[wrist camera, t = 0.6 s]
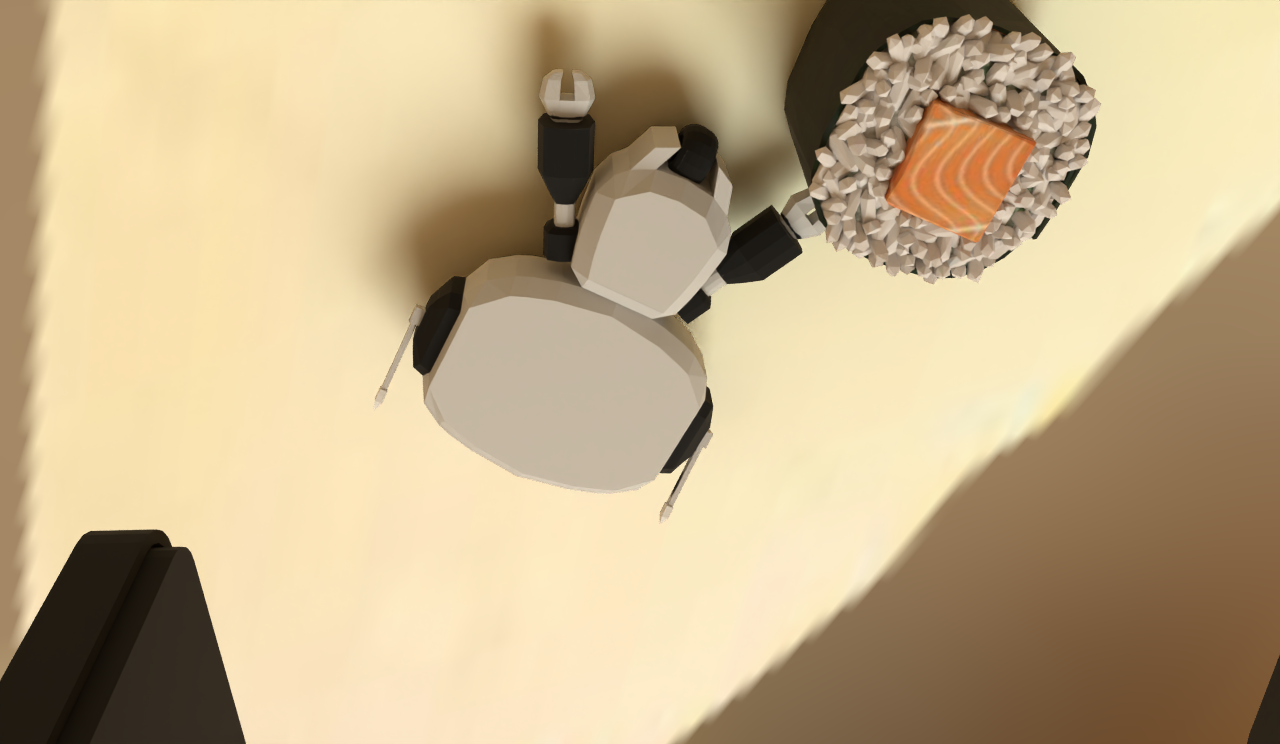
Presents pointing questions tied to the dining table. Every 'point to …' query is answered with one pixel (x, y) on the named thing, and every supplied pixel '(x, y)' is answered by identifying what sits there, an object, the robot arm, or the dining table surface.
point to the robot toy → (598, 310)
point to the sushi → (936, 131)
